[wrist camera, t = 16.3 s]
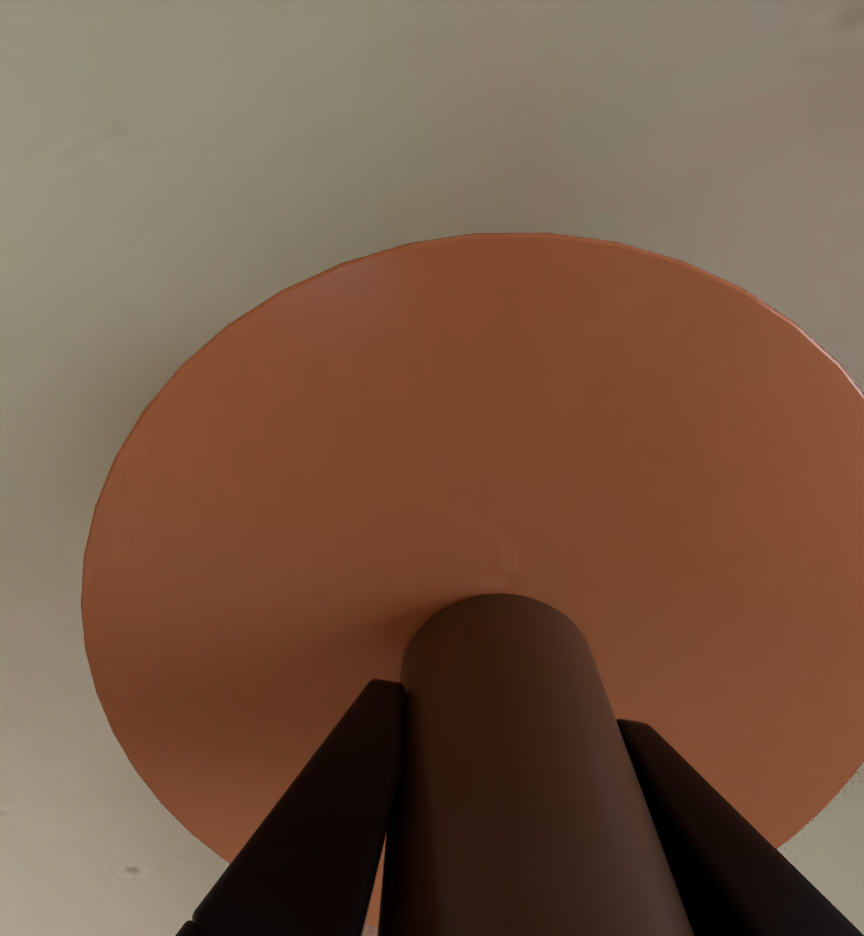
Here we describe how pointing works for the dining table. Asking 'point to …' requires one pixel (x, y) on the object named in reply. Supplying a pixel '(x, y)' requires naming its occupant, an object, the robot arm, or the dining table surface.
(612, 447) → the lid
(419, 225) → the dining table surface
